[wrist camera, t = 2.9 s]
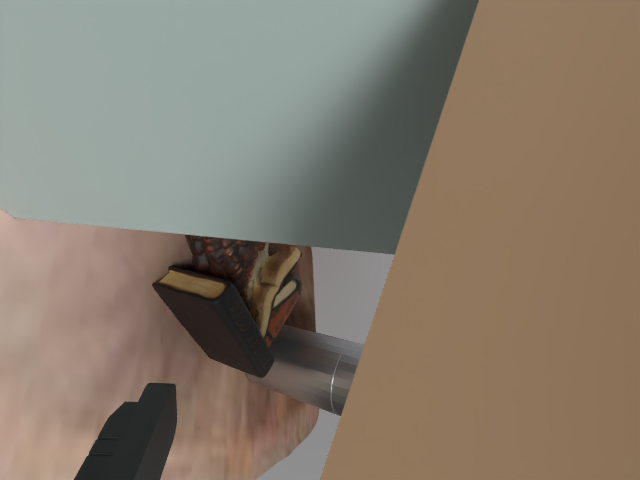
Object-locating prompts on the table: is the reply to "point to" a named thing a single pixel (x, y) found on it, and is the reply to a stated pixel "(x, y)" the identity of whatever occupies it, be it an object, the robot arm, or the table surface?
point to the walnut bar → (515, 266)
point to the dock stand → (225, 114)
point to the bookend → (234, 298)
